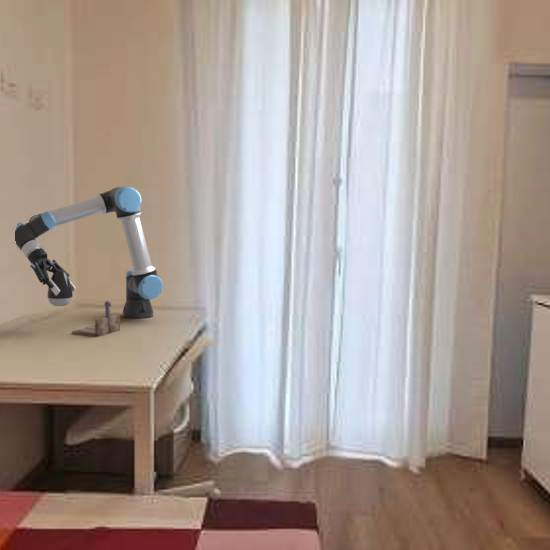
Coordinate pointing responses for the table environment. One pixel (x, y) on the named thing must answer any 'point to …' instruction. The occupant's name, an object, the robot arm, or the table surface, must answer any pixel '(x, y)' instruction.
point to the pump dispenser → (64, 287)
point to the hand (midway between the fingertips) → (66, 291)
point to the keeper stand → (102, 324)
